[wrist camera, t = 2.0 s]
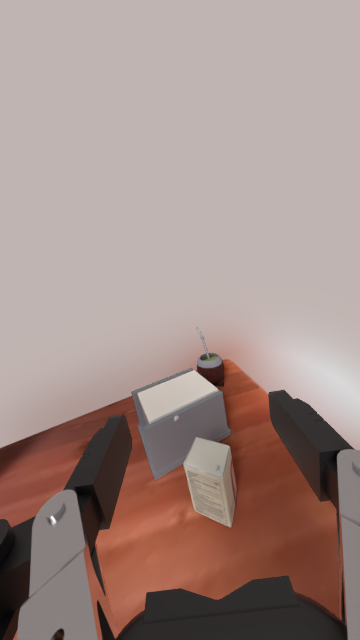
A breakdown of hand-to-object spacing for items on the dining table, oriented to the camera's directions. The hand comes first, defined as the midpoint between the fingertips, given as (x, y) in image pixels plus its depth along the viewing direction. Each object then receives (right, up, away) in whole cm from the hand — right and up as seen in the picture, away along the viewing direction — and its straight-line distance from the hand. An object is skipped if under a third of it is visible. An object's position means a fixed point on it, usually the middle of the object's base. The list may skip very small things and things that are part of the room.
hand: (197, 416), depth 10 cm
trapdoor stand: (-1, -17, +27) cm, 32 cm away
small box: (+4, -19, +15) cm, 24 cm away
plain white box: (-1, -14, +26) cm, 30 cm away
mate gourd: (+8, -12, +41) cm, 43 cm away
